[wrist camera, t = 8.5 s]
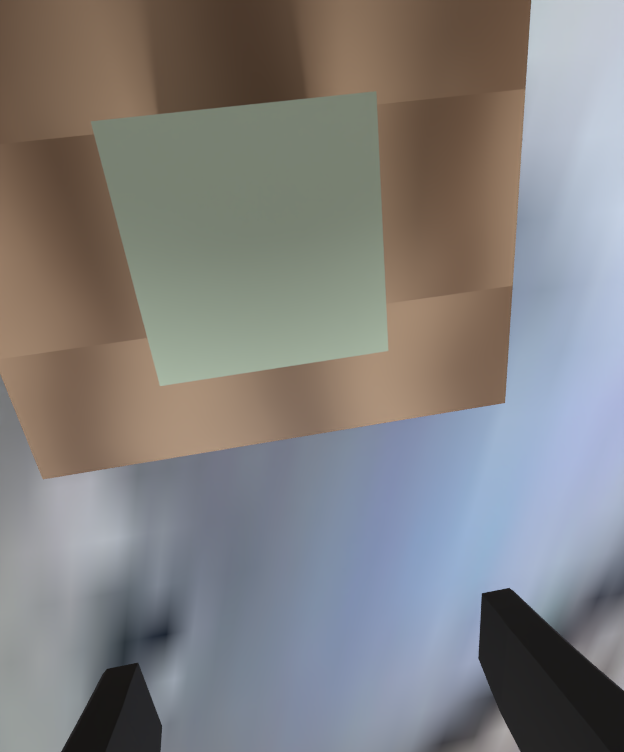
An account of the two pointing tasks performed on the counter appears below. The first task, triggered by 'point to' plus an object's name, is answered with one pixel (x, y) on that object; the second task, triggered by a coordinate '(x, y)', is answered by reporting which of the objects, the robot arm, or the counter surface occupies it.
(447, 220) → the socket block
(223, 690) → the counter surface
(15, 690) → the counter surface
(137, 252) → the peg
